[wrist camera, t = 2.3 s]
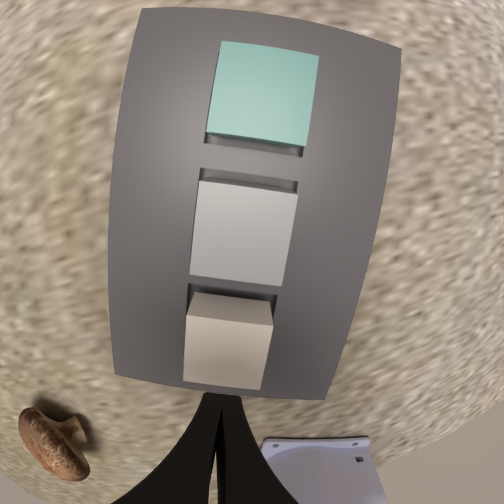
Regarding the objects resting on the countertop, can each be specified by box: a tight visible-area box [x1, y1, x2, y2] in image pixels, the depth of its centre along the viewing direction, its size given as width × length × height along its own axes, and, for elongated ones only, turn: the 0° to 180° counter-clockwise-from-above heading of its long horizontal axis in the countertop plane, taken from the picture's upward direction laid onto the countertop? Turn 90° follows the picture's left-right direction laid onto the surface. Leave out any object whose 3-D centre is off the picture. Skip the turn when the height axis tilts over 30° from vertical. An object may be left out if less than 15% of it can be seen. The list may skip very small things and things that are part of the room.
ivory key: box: [183, 292, 273, 390], centre depth 16 cm, size 4×4×3 cm
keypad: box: [108, 7, 401, 400], centre depth 16 cm, size 14×22×2 cm, turn 172°
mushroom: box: [18, 407, 90, 481], centre depth 20 cm, size 8×8×6 cm
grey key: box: [190, 177, 298, 286], centre depth 14 cm, size 4×4×3 cm
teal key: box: [206, 41, 319, 148], centre depth 13 cm, size 4×4×3 cm
